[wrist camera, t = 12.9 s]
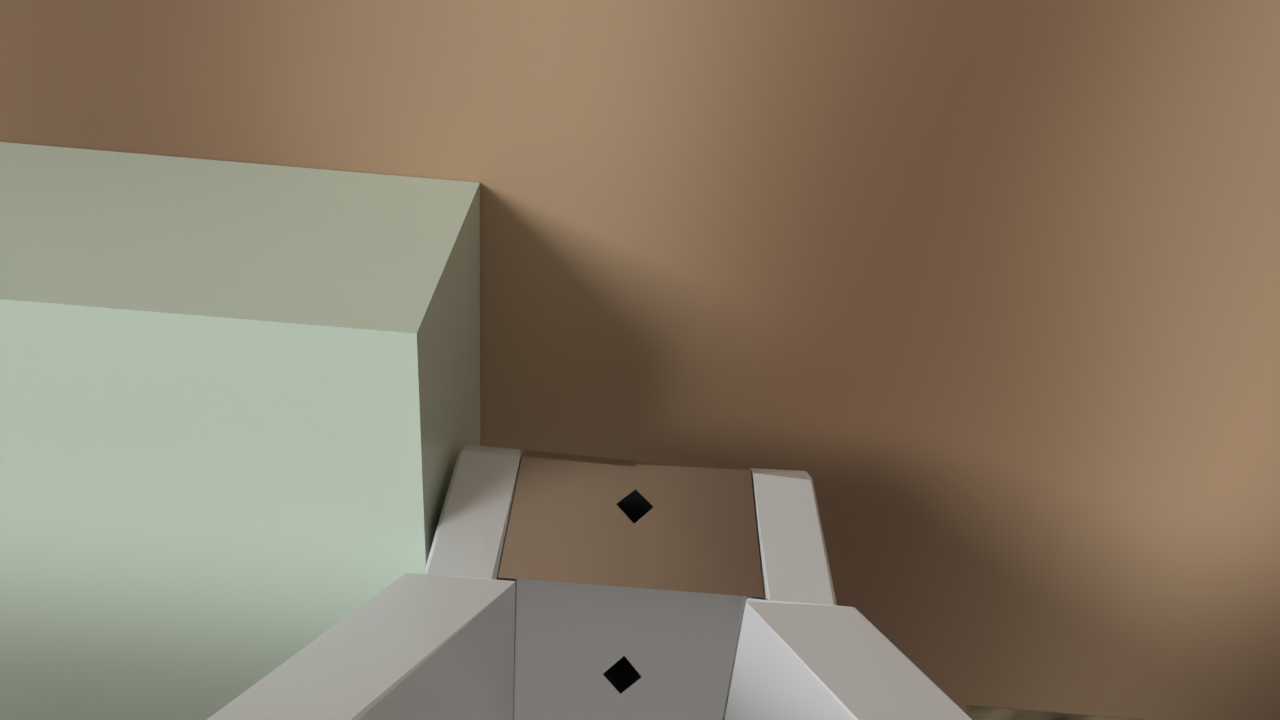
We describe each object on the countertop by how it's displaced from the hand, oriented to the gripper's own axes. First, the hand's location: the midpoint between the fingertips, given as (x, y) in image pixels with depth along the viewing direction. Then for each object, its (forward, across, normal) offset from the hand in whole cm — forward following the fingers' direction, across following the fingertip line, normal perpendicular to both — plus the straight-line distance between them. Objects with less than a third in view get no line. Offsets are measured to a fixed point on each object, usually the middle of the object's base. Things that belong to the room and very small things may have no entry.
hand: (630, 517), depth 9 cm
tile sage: (+1, +4, 0) cm, 4 cm away
